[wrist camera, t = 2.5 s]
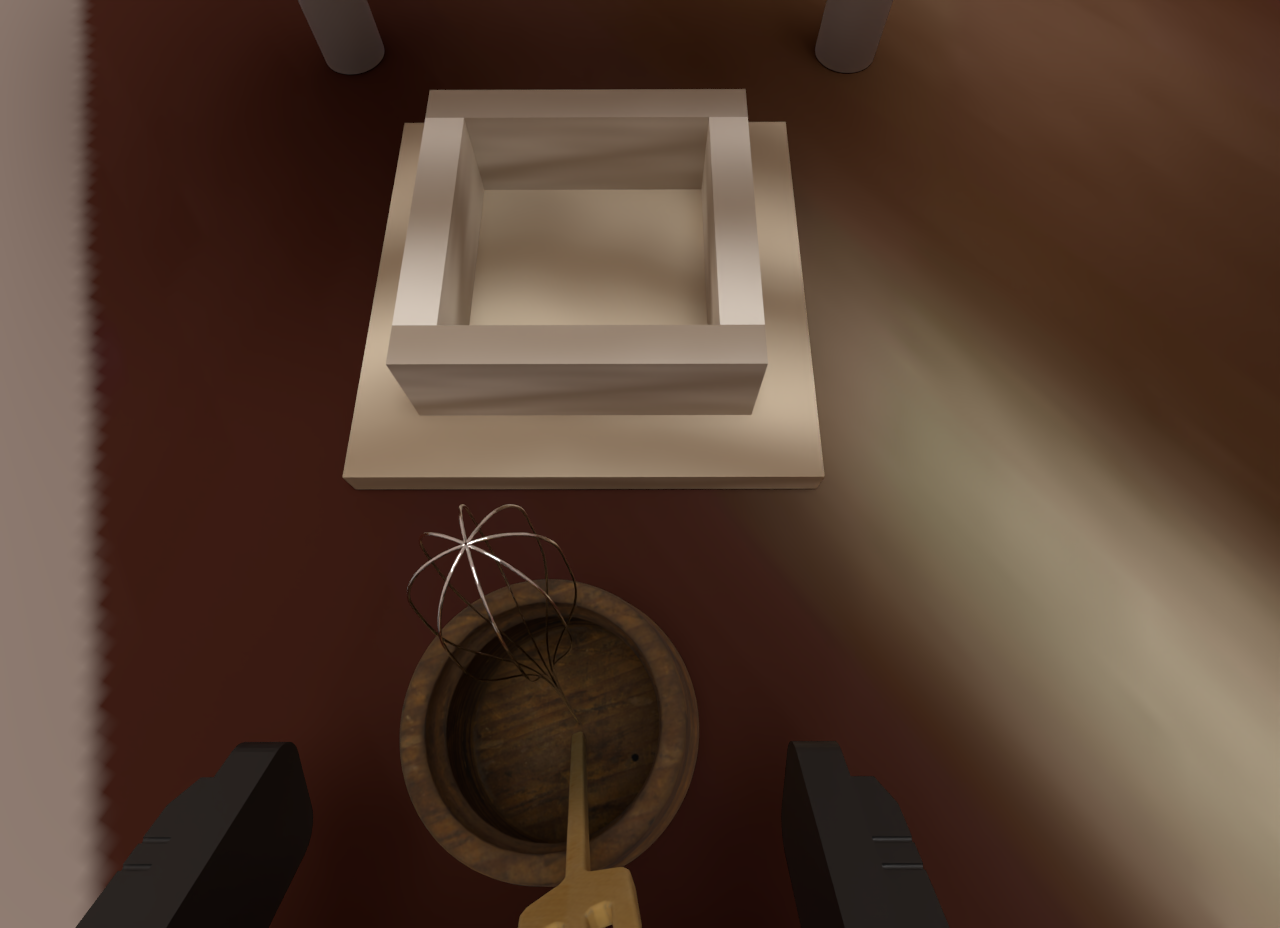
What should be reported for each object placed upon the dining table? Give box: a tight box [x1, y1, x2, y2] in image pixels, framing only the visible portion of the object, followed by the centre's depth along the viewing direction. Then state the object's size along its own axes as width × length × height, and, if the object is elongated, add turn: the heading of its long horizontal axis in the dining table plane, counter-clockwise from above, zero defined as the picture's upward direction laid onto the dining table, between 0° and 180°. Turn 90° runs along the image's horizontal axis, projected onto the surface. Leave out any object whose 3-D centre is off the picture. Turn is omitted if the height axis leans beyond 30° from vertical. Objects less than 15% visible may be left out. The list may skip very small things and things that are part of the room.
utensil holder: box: [400, 504, 699, 928], centre depth 13 cm, size 6×6×12 cm
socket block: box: [343, 89, 825, 489], centre depth 22 cm, size 14×14×4 cm
